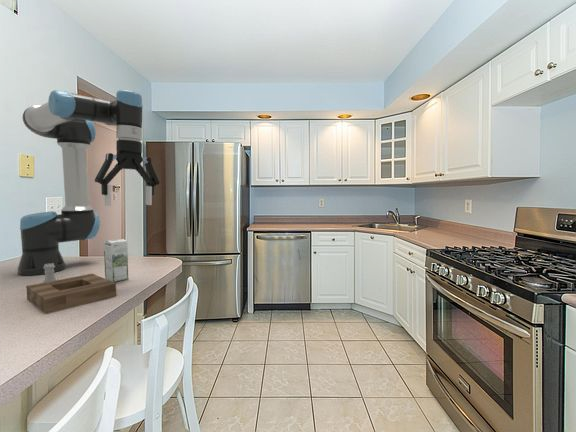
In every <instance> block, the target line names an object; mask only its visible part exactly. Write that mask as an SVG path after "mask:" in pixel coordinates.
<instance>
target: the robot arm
mask: <svg viewBox="0 0 576 432" xmlns="http://www.w3.org/2000/svg"><path fill="white" fill-rule="evenodd" d="M49 93H50V94H49V96H48V101H47V102H46V103H43V104H41V105H39V104H37V105H36V104H35V105H31V106H29V107H27V108H26V109H25V110H24V111H23V113H22V121H23V124H24V126H25V127H26V128H27V129H28V130H30V132H32V133H34V134H35V135H38V136H40V137H43V138H48V139H55V140H56V143H57V145H58V146H59V147H60V148H61V152H62V155H61V156H62V169H63V171H62V172H63V187H64V188H63V189H64V202H65V203H64V207H62V208H61V210H60V211H61V212H60V213H61V214H58V213H57V211H41V212H36V213H31V214H30V213H29V214H26V215H24V216H22V217H21V218H20V221H19V222H20V225H19V230H20V238H21V239H20V241H21V253H22V254H21V257H20V259H19V262H18V266H17V274H18V275H20V276H38V275H39V276H40V275H45V269H44V268H43V267H44V264H47V265H48V263H50V265H51V263H54V266H55V267H54V273H56V272H59V271H62V270H65V269H66V262H65V260H64V258H63V256H62V254H61V251H60V246H59V244H61V243H68V242H76V241H86V240H91V239H93V238H95V237H96V236H97V235H98V233H99V230H100V226H101V225H100V223H101V221H100V218H99V217H100V216H99V214H98V213H97V212H94V208H93V207H92V206H91V205H90V199H89V179H88V177H89V176H88V158H87V157H88V155H87V154H88V153H87V151H88V148H90V147H91V143H92V142H94V141H95V139H96V136H97V135H96V125H95V124H94V122H96V123H102V124H105V125H108V126H113V127H114V126H116V127H115V128H116V131H115V132H116V139H117V140H116V141H115V142H116V143H115V144H116V149H115V150H116V154H113V153H111V152H107V153H106V154H105V159H104V162H103V163H102V165H101V167H100V169H99V171H98V173H97V174H96V176H95V178H94V182H95V183H98V184H100V185H101V195H102V196H104V206H107V207H111V206H112V185H110V182H111V181H112V180H113V179H114V178H115V177H116V176H117V175H118V174H119V173H120V171H122V170H135V171H136V172H137V173H138V174H139V176H141V178H142V179H143V181H144V182H145V183H146V184H147V185H146V186H145V205H146V206H152V203H153V200H152V199H153V196H154V195H155V187H156V186H159V185H160V181H159V178H158V175H157V174H156V171H155V169H154V167H153V165H152V159H151V157H150V156H148V157H143V155H142V152H143V143H142V142H141V141H142V140H143V106H144V105H143V97H142V95H141V94H140V93H139V92H137V91H133V90H127V89H119V90H117V91H116V96H115V100H108V99H103V98H99V97H92V96H87V95H83V94H78V93H73V92H69V91H66V90H64V91H63V90H56V89H55V90H52V91H50V92H49ZM115 160H116V162H117V163H116V164H115V165H114V167H113V168H112V169H111V170H110V171H109V173H108V170H109V169H110V167H111V166H112V164H113V161H115ZM142 163H143V164H144V166H145V169H146V170H145V169H144V167H143V165H142ZM146 171H147V172H146Z"/></svg>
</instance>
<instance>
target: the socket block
mask: <svg viewBox="0 0 576 432" xmlns="http://www.w3.org/2000/svg"><path fill="white" fill-rule="evenodd" d="M25 288H26V289H25V290H26V300H27V301H29V302H30V303H31V304H33V305H34V306H35V307H36V308H38V309H39V310H40V311H42V312H43V313H44V314H45V315H46V314H50V313H54V312H57V311H61V310H65V309H69V308H75V307H78V306H81V305H85V304H89V303H94V302H98V301H102V300H104V299H111V298H113V297H117V282H112V281H109V280H107V279H105V277H103V276H99V275H98V274H97V275H96V274H95V273H88V274H82V275H77V276H74V277H73V276H72V277H67V278H62V279H56V280H55V281H50V282H45V283H43V282H41V283H40V282H39V283H35V284H30V285H26V286H25Z"/></svg>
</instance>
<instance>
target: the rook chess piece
mask: <svg viewBox="0 0 576 432" xmlns="http://www.w3.org/2000/svg"><path fill="white" fill-rule="evenodd" d="M54 267H55V266H54V263H51V265H50V263H48V265H47V264H44V267H43V268H44V269H45V274H44V280H43V282H42V283H45V282H50V281H55V280H57V279H56V276H55V272H54Z"/></svg>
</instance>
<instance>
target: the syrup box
mask: <svg viewBox="0 0 576 432" xmlns="http://www.w3.org/2000/svg"><path fill="white" fill-rule="evenodd" d="M103 255H104V256H103V257H104V259H103V260H104V261H103V262H104V279H107V280H109V281H112V282H114V283H117V282H121V281H122V282H123V281H125V280H129V258H128V257H129V256H128V255H129V253H128V241H127V240H126V239H122V238H118V239H111V240H109V239H108V240H103Z"/></svg>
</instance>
